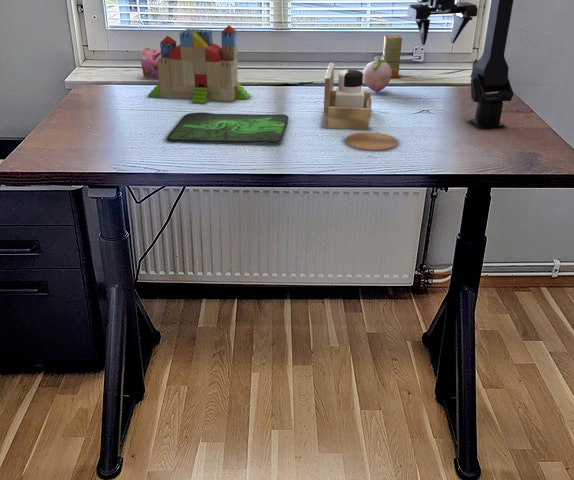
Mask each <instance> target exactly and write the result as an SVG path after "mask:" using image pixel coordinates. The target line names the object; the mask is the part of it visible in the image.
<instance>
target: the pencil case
mask: <svg viewBox="0 0 574 480" xmlns="http://www.w3.org/2000/svg"><path fill="white" fill-rule="evenodd" d="M160 57H162V56H161V48H159V49H158V48H152V49H151V48H148V47H144V48H143V50H142V52H141V57H140V64H141V70H142V75H143V77H144V78H153V79H159V74H158V62H157V59H158V58H160Z"/></svg>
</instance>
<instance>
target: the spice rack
mask: <svg viewBox="0 0 574 480" xmlns="http://www.w3.org/2000/svg"><path fill="white" fill-rule="evenodd" d="M334 82H335V62H330V63H329V64H328V67H327V70H326V73H325V76H324V96H323V120H322V127H323V128H324V129H326V128H327V129H329V128H330V129H347V130H348V129H349V130H369V124H370V118H371V116H372V115H371V114H372V98H371V95H372V91H367V90H364V105H363V108H353V107H335V95H336V89H334V87H335V86H334V85H335V84H334Z"/></svg>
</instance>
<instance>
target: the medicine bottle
mask: <svg viewBox="0 0 574 480" xmlns="http://www.w3.org/2000/svg"><path fill="white" fill-rule="evenodd" d="M363 83H364V81H363V71H361V70H359V69H343V70H341V71H340V72H339V73H338V85H337V87H336V89H335V90H336V95H335V107H353V108H363V105H364V91H365V88H364V87H363Z"/></svg>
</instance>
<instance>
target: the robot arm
mask: <svg viewBox="0 0 574 480" xmlns="http://www.w3.org/2000/svg"><path fill="white" fill-rule="evenodd" d="M416 2H417V3H415V4H410V5H408V7H407V11H406V16H408V17H410V19H412V20H413V21H415V23H416V25H417V28H418V32H419V36H420V42H421V45H422V46H425V45H426V42H427V40H428V34H429V28H430V25H431V19H429V18H430V16H431V15H432V16H435V15H452V19H453V25H452V32H451V38H450V43H451V44H455V43H456V41H457V39H458V37H459V36H460V35H461V34H462V31H463V30H464V28H465V27H466V26H467V24H469V22H470V21H472V20H473V17H474V18H475V17H477V16H478V12H479V9H478V6H477V4H474V3H472V2H469V1H467V2H466V1H465V2H464V1H463V2H456V0H416ZM513 5H514V0H491V1H490V7H489V13H488V19H487V27H486V33H485V38H484V45H483V52H482V55H481V56H480V57H479V59H475V60H473V63H472V68H471V70H472V71H471V74H470V96H471V97H470V99H471V100H472V101H473V102H474V103H477V104H476V110H475V118H471V119H469V123H471V124H473V125H474V126H476V127H478V128H480V129H483V130H485V129H494V128H497V129H498V128H505V124H504V123H502V122H501V117H502V112H503V106H504V102H511V101H512V99H513V96H514V91H513V88H512V85H511V82H510V79H509V65H508V62H507V59H506V58H505V54H506V53H505V52H506V48H507V47H506V46H507V41H508V36H509V30H510V25H511V19H512V18H511V17H512V12H513Z"/></svg>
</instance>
